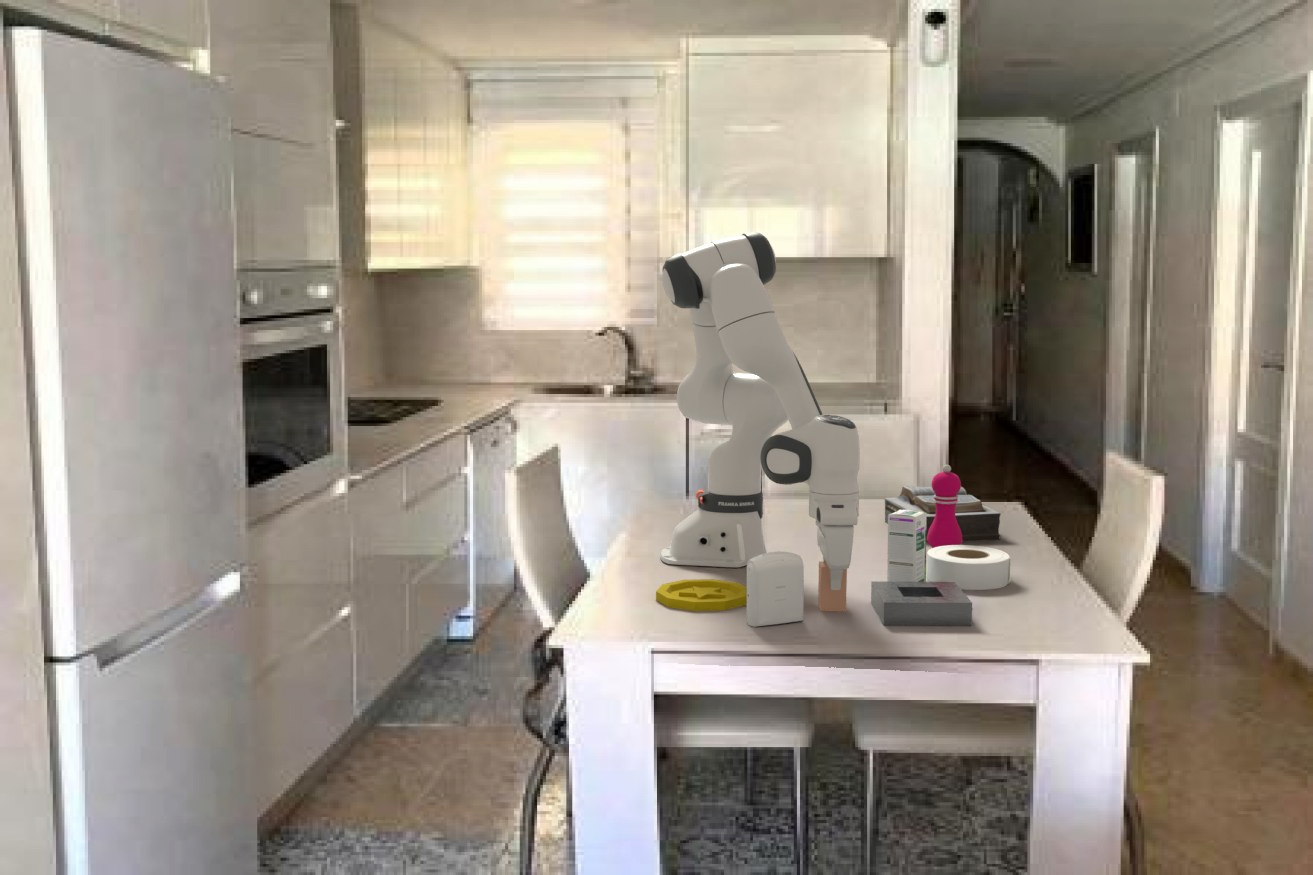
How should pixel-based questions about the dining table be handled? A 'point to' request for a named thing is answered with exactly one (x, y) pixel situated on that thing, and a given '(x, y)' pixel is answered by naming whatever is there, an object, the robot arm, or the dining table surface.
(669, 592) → the decorative disc
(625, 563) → the dining table surface
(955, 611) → the square hole block
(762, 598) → the photo printer
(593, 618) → the dining table surface
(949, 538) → the pepper mill
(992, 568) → the roll of tape
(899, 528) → the syrup box
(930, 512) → the bible
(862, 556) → the dining table surface
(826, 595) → the square peg
